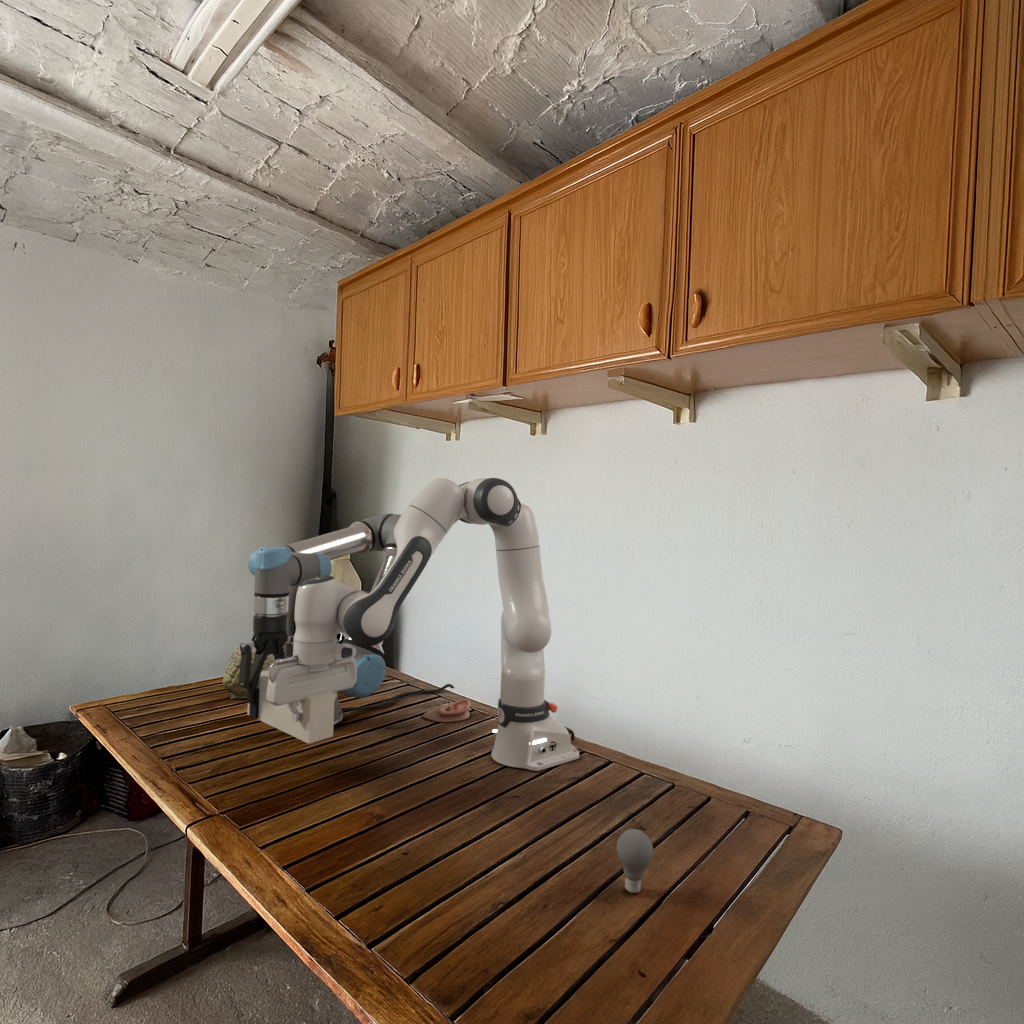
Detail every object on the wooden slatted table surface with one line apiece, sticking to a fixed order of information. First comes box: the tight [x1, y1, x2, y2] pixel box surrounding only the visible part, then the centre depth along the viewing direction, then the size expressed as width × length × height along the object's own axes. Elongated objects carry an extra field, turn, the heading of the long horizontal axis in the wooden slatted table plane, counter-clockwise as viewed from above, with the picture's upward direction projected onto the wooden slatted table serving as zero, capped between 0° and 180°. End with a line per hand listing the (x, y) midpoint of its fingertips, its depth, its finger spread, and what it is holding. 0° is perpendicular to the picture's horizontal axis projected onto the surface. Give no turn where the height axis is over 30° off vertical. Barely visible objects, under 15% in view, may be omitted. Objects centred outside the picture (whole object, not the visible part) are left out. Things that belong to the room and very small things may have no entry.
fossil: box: [222, 646, 275, 699], centre depth 198 cm, size 9×18×15 cm, turn 132°
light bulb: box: [615, 828, 654, 894], centre depth 106 cm, size 6×6×10 cm
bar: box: [246, 670, 335, 745], centre depth 141 cm, size 25×6×9 cm, turn 51°
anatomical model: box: [422, 699, 472, 723], centre depth 186 cm, size 13×4×12 cm
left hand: (267, 713), depth 147 cm, fingers closed on bar, 6 cm apart
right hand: (312, 716), depth 136 cm, fingers closed on bar, 6 cm apart
